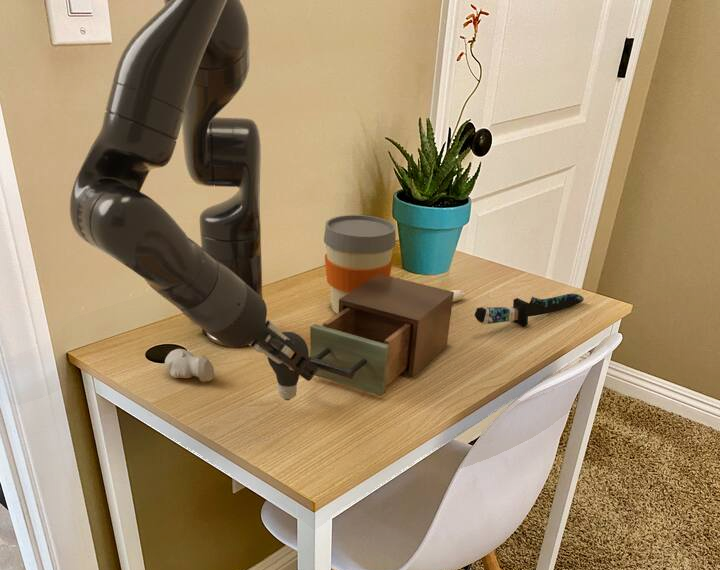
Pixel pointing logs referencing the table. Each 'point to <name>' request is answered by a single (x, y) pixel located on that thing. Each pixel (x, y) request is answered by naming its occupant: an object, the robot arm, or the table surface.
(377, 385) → the drawer
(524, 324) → the knife
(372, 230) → the reusable coffee cup
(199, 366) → the pale two-lobed sculpture
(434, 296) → the cabinet
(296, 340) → the light bulb
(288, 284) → the table surface
